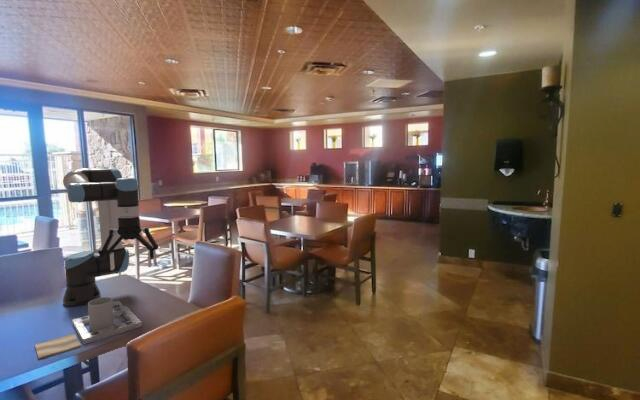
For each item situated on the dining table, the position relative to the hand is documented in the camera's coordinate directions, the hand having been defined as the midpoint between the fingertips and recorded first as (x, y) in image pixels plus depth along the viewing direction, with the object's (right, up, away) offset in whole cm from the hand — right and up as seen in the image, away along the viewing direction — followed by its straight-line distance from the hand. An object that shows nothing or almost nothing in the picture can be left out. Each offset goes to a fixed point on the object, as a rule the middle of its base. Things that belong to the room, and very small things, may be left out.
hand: (131, 267), depth 138 cm
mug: (-12, -25, +3) cm, 27 cm away
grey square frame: (-12, -24, +2) cm, 27 cm away
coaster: (-20, -26, -14) cm, 35 cm away
